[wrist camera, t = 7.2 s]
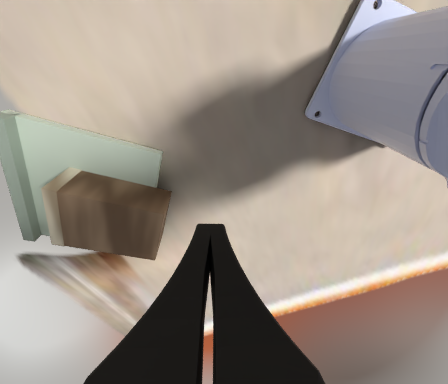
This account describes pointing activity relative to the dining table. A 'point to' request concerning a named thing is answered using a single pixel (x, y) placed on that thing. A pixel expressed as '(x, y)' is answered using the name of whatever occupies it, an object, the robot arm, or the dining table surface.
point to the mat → (62, 162)
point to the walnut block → (105, 213)
